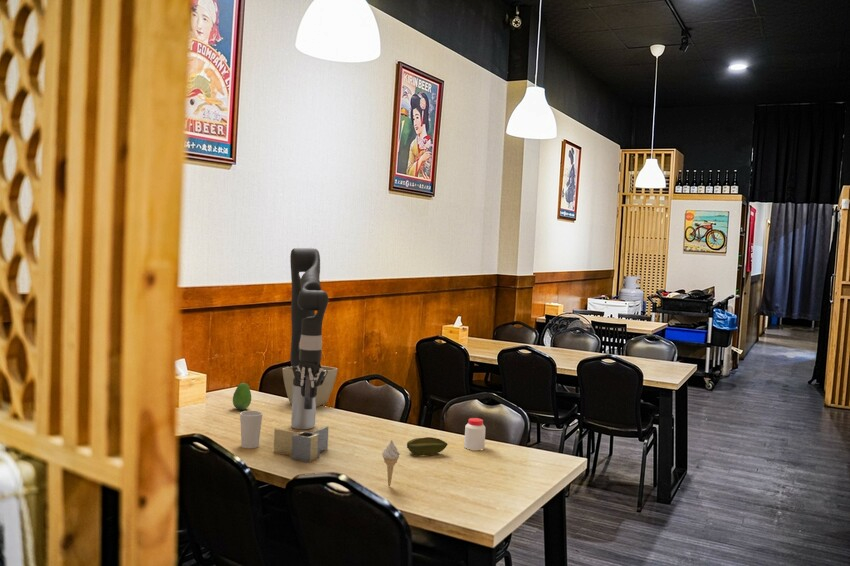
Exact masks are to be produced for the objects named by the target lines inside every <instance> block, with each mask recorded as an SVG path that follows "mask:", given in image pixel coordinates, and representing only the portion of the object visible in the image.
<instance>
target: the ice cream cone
mask: <svg viewBox="0 0 850 566" xmlns="http://www.w3.org/2000/svg"><path fill="white" fill-rule="evenodd" d="M400 454H401V453H400V452H399V451H398V448H397V447H396V445H395V444H394V442H393V440H392V439H391V440H390V442H389V444H388V445H387V446H386V448H385V449H384V450H383V451H382V453H381V455H382V458H383V462H384V463H385V464H386V468H387V469H386V471H387V486H388V487H389V486H390V487H391V483H392V477H393V472H394V467H395V465H396V464H397V463H398V461H399V458H400Z"/></svg>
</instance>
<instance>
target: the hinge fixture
mask: <svg viewBox="0 0 850 566" xmlns="http://www.w3.org/2000/svg"><path fill="white" fill-rule="evenodd" d="M328 442H329V426H328V425H327V426H323V427H321V428H318V429H316V430H314V431H306V430H302V431H300V432H298V431H297V432H296V431H291V430H286V429H282V428H277V427H276V428H274V432H273V453H277V454H282V455H286V456H290V457H291V460H293V461H294V460H295V461H298V462H303V463H304V462H305V463H310V462H312V461H314V460H316V459H319V458H320V453H322V452H325V451H326V450H328V448H329V447H328V446H329V443H328Z"/></svg>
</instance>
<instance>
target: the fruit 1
mask: <svg viewBox="0 0 850 566" xmlns="http://www.w3.org/2000/svg"><path fill="white" fill-rule="evenodd" d="M251 402H252V392H251V388H250V385H249V384H248V383H247V382H240V383H239V384H238V385H237V386H236V389H235V390H234V393H233V396H232V404H233V406H234V408H235V409H237V410H238V411H246V409H247V408H249V407H250V404H251Z"/></svg>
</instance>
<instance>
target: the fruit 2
mask: <svg viewBox="0 0 850 566" xmlns="http://www.w3.org/2000/svg"><path fill="white" fill-rule="evenodd" d="M448 445H449V444H448V443H447V442H446V441H444V440H443V439H441V438H437V437H429V436H428V437H427V436H426V437H422V438H421V437H417V438H413V439H411V440H410V439H409V441H407V443H406V449H408V450H409V452H410V454H412V455H415V456H418V455H429V456H433V455H438V454H439V453H442V452H443V451H444V450H445V449H446V448H447V446H448Z"/></svg>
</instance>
